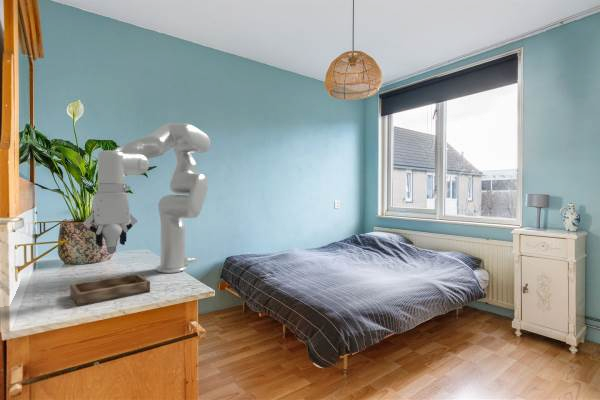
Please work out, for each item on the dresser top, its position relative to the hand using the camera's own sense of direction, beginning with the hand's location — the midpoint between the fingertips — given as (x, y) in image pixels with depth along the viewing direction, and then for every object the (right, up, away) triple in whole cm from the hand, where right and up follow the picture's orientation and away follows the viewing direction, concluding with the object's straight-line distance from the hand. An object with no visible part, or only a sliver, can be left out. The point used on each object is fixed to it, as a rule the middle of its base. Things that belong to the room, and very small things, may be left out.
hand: (111, 244), depth 102 cm
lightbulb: (0, -3, 0) cm, 3 cm away
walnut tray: (0, -16, +1) cm, 16 cm away
